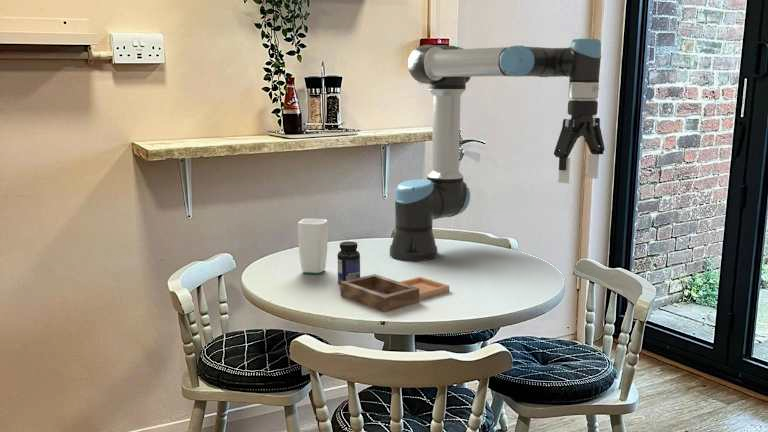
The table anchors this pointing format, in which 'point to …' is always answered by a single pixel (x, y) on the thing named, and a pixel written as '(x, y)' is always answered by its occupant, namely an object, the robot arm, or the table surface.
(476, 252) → the table surface
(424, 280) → the tray
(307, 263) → the cup
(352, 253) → the pill bottle
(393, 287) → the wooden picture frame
